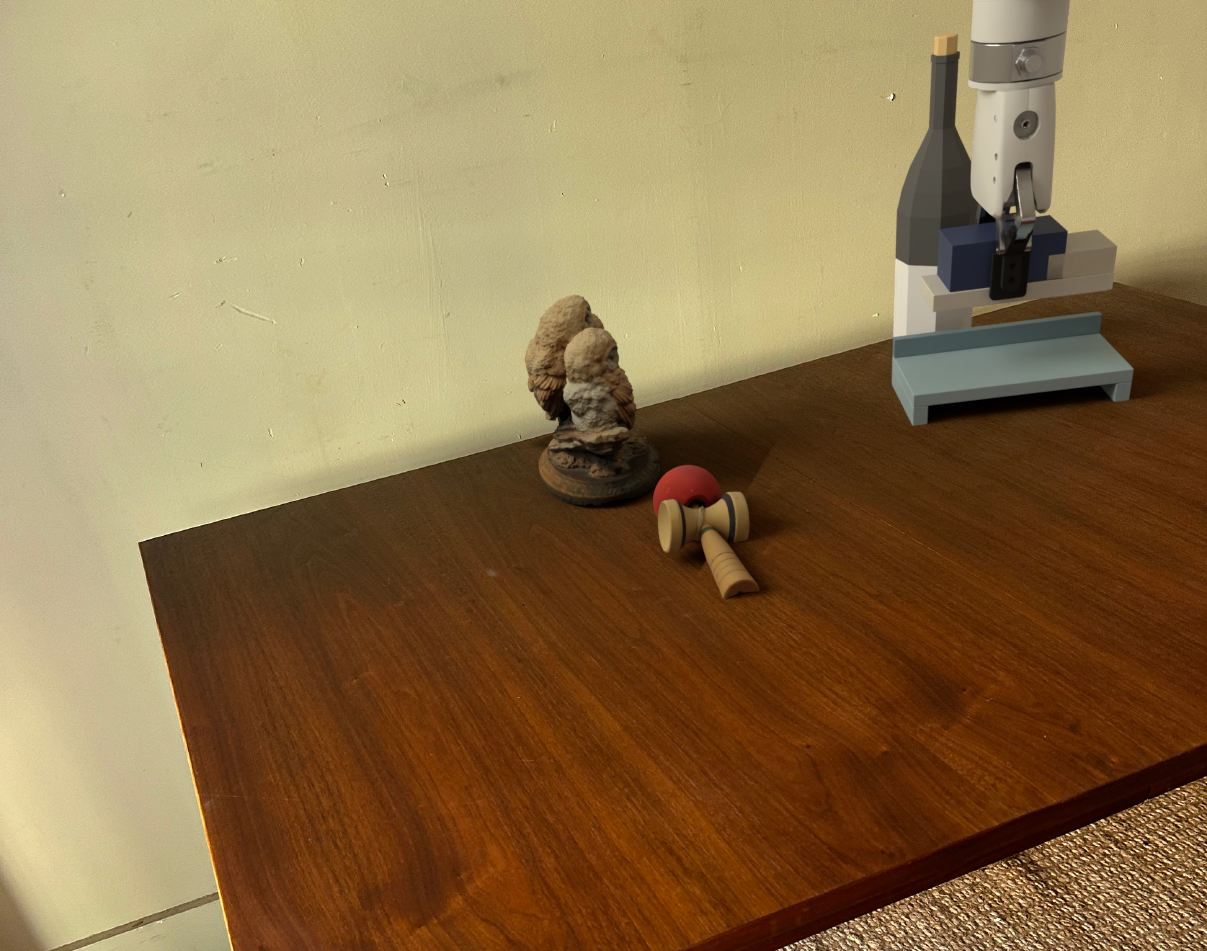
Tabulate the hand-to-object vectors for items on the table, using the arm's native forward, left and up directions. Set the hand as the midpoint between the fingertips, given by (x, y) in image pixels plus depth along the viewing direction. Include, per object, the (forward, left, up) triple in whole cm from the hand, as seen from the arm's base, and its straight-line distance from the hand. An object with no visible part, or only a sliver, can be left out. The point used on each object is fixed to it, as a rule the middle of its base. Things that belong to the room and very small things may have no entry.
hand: (998, 284), depth 110 cm
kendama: (+19, +34, -12) cm, 40 cm away
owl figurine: (+35, +18, -12) cm, 41 cm away
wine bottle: (+8, -13, -12) cm, 20 cm away
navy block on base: (-1, 0, -1) cm, 2 cm away
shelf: (-1, 0, -12) cm, 12 cm away
